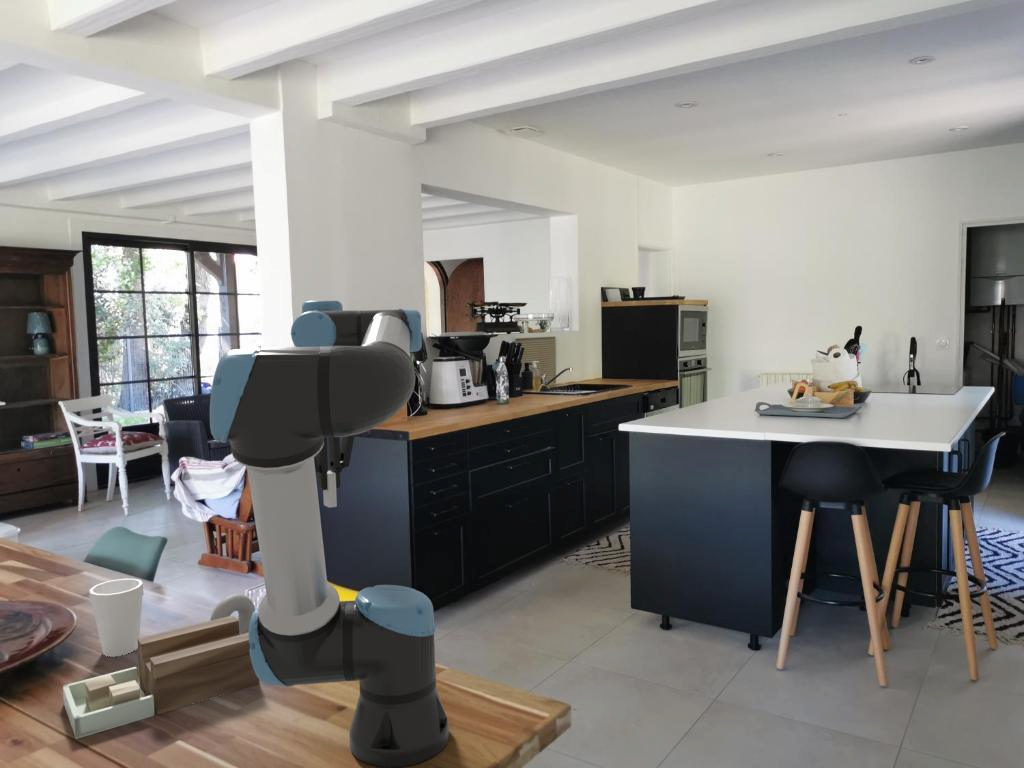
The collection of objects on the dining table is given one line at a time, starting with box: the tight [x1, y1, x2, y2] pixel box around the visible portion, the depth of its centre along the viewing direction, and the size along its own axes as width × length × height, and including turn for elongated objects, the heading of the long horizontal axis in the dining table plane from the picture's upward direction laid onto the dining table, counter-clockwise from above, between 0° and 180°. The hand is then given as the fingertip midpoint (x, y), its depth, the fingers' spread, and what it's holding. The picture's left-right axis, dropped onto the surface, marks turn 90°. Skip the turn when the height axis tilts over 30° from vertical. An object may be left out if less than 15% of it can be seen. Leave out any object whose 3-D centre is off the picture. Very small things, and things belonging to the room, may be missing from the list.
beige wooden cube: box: [109, 680, 141, 707], centre depth 129 cm, size 4×4×4 cm
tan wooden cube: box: [84, 675, 116, 712], centre depth 131 cm, size 4×4×4 cm
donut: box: [209, 593, 256, 635], centre depth 156 cm, size 10×4×10 cm, turn 146°
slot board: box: [137, 614, 260, 715], centre depth 139 cm, size 14×17×8 cm
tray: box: [62, 666, 155, 740], centre depth 131 cm, size 14×12×3 cm
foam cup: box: [88, 578, 145, 658], centre depth 154 cm, size 10×9×13 cm
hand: (330, 505), depth 148 cm, fingers closed
